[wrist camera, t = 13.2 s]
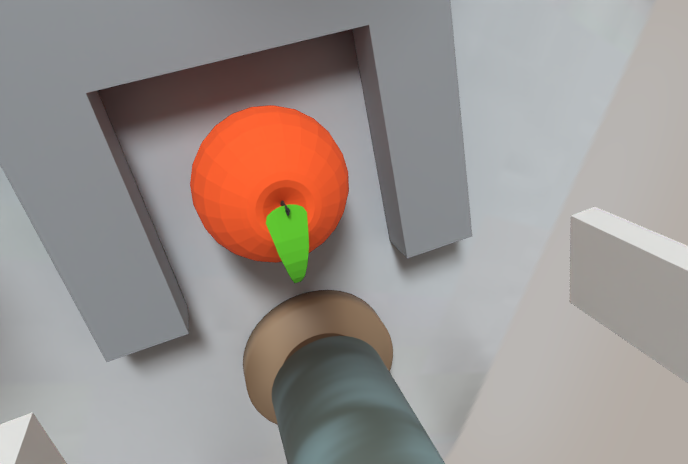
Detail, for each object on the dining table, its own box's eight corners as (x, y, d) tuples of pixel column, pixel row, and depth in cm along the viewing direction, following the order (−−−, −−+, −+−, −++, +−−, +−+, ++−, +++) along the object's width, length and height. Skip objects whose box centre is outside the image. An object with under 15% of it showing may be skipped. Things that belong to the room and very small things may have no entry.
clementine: (338, 226, 28) (386, 285, 21) (216, 261, 26) (228, 335, 20) (312, 82, 24) (359, 101, 18) (169, 112, 23) (166, 145, 16)
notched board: (112, 333, 26) (106, 362, 24) (-56, 7, 19) (-87, 4, 17) (450, 220, 30) (472, 236, 27) (415, -87, 23) (441, -99, 20)
